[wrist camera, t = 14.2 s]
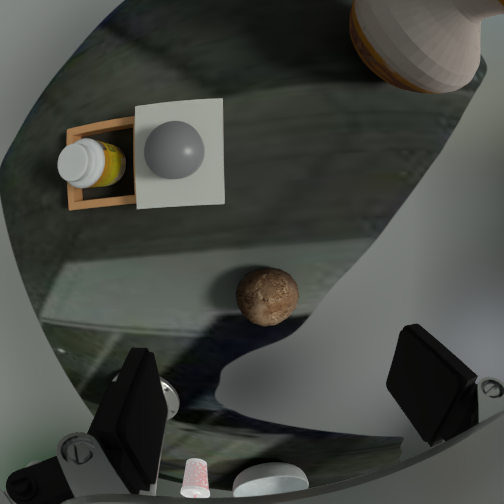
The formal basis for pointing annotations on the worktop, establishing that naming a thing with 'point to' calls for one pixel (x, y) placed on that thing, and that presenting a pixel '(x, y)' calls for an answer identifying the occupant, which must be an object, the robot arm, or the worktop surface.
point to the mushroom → (267, 296)
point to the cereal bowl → (269, 480)
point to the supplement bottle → (91, 163)
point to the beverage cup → (195, 479)
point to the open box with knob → (167, 155)
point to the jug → (421, 40)
